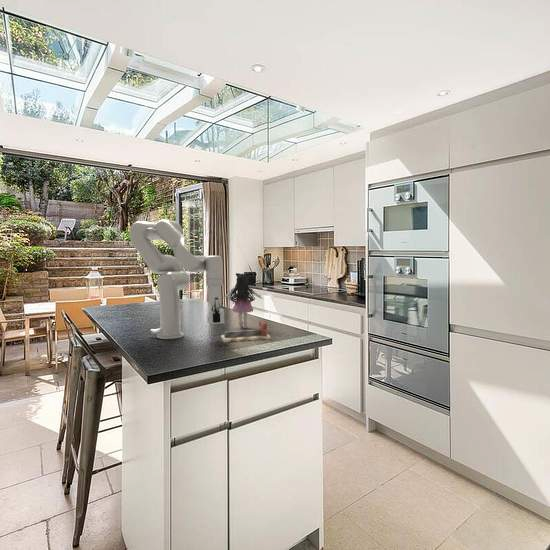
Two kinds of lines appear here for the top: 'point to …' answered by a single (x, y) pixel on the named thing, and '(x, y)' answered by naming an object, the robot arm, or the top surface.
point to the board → (247, 334)
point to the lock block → (210, 316)
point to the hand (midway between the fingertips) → (215, 320)
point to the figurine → (242, 297)
